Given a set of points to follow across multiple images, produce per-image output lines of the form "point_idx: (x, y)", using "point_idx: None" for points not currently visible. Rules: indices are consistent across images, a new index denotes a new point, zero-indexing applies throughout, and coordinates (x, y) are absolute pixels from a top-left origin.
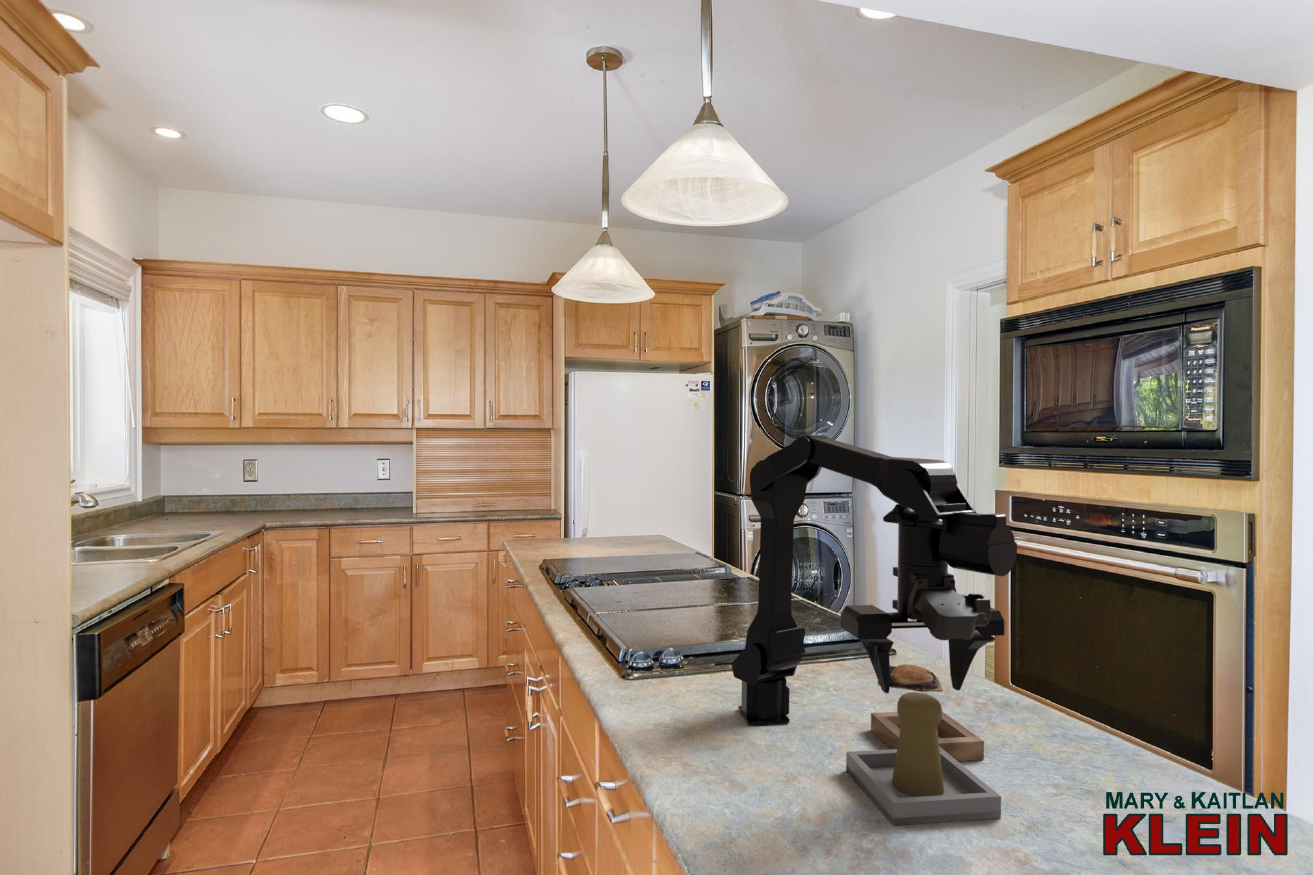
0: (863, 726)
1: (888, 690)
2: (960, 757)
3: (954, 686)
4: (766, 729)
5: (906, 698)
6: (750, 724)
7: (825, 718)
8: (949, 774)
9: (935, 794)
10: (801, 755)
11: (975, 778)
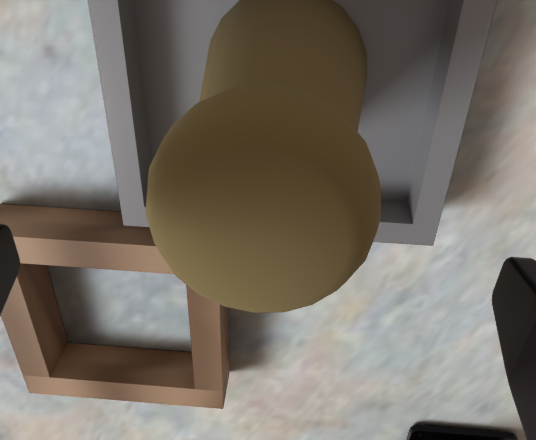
0: (238, 387)
1: (523, 263)
2: (64, 213)
3: (8, 257)
4: (484, 412)
5: (346, 243)
6: (513, 433)
7: (309, 428)
8: (147, 121)
9: None
10: (487, 301)
11: (101, 8)
